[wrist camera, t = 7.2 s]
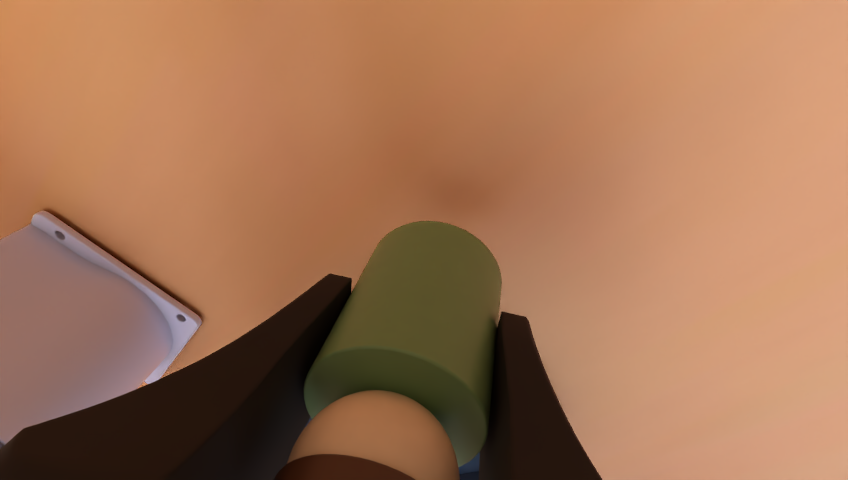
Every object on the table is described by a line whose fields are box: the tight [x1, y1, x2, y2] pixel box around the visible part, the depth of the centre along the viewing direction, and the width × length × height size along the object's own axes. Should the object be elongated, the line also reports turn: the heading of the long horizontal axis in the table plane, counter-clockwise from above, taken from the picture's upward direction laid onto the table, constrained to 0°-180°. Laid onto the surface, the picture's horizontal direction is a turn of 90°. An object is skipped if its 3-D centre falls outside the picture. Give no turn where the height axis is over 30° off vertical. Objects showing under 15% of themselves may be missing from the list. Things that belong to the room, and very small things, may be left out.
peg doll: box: [274, 221, 502, 480], centre depth 10 cm, size 4×4×8 cm
